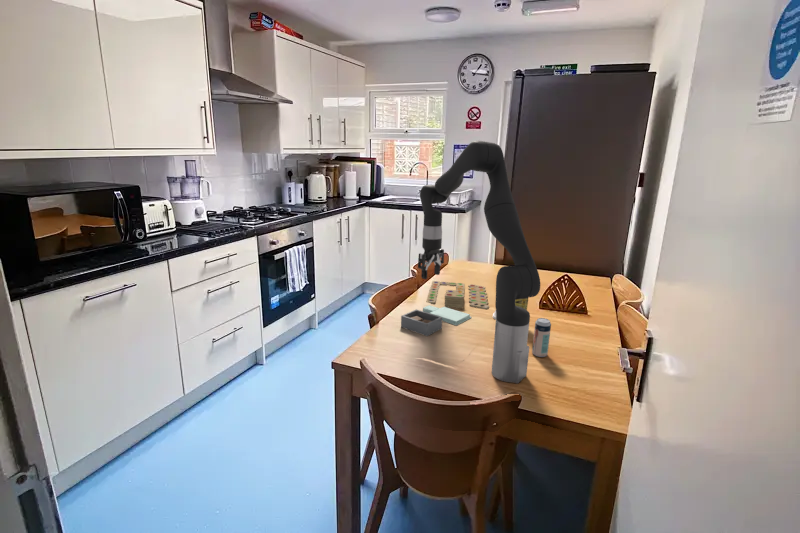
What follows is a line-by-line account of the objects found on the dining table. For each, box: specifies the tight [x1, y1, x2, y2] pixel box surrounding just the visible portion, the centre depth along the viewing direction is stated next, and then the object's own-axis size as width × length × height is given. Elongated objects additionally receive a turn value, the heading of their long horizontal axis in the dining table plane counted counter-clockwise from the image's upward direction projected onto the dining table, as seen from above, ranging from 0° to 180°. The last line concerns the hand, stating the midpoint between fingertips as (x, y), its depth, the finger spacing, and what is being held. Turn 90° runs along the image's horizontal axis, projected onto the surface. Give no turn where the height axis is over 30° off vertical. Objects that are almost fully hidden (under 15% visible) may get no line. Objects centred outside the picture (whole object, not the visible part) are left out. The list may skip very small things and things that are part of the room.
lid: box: [422, 305, 472, 327], centre depth 166 cm, size 18×11×2 cm, turn 49°
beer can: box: [531, 317, 552, 358], centre depth 134 cm, size 5×5×12 cm
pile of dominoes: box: [426, 280, 490, 310], centre depth 192 cm, size 35×27×6 cm
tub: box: [400, 308, 443, 337], centre depth 153 cm, size 12×9×5 cm
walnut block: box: [411, 316, 423, 322], centre depth 155 cm, size 4×4×3 cm
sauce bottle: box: [515, 298, 529, 311], centre depth 156 cm, size 6×6×20 cm
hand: (430, 276), depth 166 cm, fingers open, 8 cm apart
